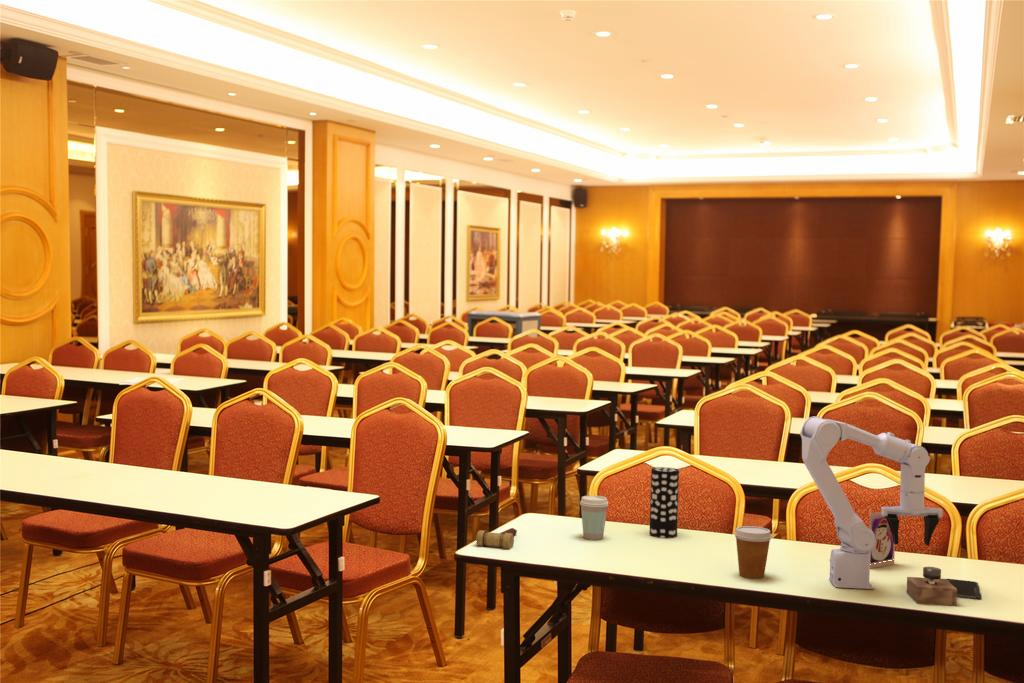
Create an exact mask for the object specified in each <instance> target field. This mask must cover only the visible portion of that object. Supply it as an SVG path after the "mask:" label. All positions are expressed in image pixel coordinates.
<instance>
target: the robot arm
mask: <svg viewBox="0 0 1024 683" xmlns="http://www.w3.org/2000/svg"><path fill="white" fill-rule="evenodd" d="M799 435H800V437H801V459H802V461H803V463H804V465H805V467H806V469H807V471H808V472H809V475H810V476H811V479H812V480H813V481H814V483H815V485H816V487H817V489H818V491H819V492H820V494H821V496H822V498H823V499H824V501H825V503H826V505H827V507H828V509H829V511H830V512H831V514H832V515H833V518H834V521H833V524H834V526H835V528H836V536H837V538H838V540H839V541H840V547H839V548H832V549H831V551H830V558H829V560H830V561H829V577H828V580H829V581H830V583H831V584H832V585H833V586H834V587H835V588H843V589H845V588H846V589H861V590H863V589H864V590H866V589H867V590H874V589H875V587H874V586H873V585H872V583H871V582H870V572H871V570H870V569H871V568H870V551H871V549H872V548H873V547H874V545H875V542H876V537H875V534H874V532H873V531H872V530H871V529H869V526H867V525H866V524H865V522H864V521H863V519H862V518H860V516H859V515H858V514H857V513H856V512H855V510H854V507H853V506H852V505H851V502H850V501H849V499H848V497H847V495H846V493H845V492H844V490H843V488H842V486H841V485H840V482H839V481H838V479H837V476H836V475H835V474H834V471H833V470H832V469H831V467H830V464H829V463H828V461H827V458H828V456H829V453H830V452H831V451H832V450H833V448H834V447H835V446H836V444H837V443H838V442H839V441H840V442H843V441H845V440H852V441H855V442H858V443H860V444H863V445H865V446H869V447H872V449H873V451H874V454H876V455H878V456H881V457H883V458H885V459H889V460H892V461H895V462H898V463H900V479H899V480H900V481H899V482H900V485H899V486H900V488H899V490H900V491H899V505H897V506H881V511H880V512H881V514H882V515H883V516H885V518H886V520H887V522H888V524H889V527H890V530H891V533H892V537H893V543H894V544H895V546H896V545H899V527H900V526H899V525H900V519H899V516H903V517H904V516H905V517H923V525H924V534H923V542H924V545H926V546H930V544H931V540H932V538H933V537H932V536H933V534H934V531H935V529H936V527H937V526H938V524H939V522H940V518H943V517H944V516H943V515H944V514H943V513H944V512H943V511H944V510H943V509H942V507H941V508H940V507H927V506H925V483H926V482H925V480H926V478H925V477H926V476H925V474H926V467H927V466H928V465H929V463H930V460H931V456H929V453H928V451H927V449H926V447H923V446H922V445H918V444H914V443H911V442H912V441H911V440H910V439H905V440H904V439H902V438H899V437H897V436H895V433H892V432H889V431H887V432H881V433H879V434H874V433H871V432H869V431H867V430H863V429H861V428H859V427H857V426H854V425H851V424H849V423H847V422H844V421H843V422H842V421H838V420H835V419H829V418H821V417H820V416H815V415H813V416H810V417H808V418H806V420H805V421H804V422H803V425H802V427H801V430H800V432H799Z"/></svg>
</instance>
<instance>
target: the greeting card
mask: <svg viewBox="0 0 1024 683" xmlns="http://www.w3.org/2000/svg"><path fill="white" fill-rule="evenodd" d="M869 510H870V511H869V522H868V523H869V524H868V525H869V526H868V528H869V529H871V530H872V531H873V532H874V534H875V537H876V542H875V545H874V547H873V548H872V549H871V551H870V564H871V565H870V569H873V568H874V569H875V568H879V567H884V566H889V565H890V566H891V565H894V564H895V552H896V551H895V550H896V549H895V548H896V544H894V543H893V537H892V533H891V530H890V527H889V524H888V522H887V520H886V518H885V516H883V515H882V514H881V512H882V511H878V512H873V513H872V509H869ZM893 559H894V560H893ZM888 560H892V561H888ZM883 561H886V562H883ZM879 562H881V563H879ZM874 563H876V564H874Z"/></svg>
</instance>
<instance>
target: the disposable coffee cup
mask: <svg viewBox="0 0 1024 683" xmlns="http://www.w3.org/2000/svg"><path fill="white" fill-rule="evenodd" d="M733 533H734V534H733V535H734V536H735V540H736V541H735V542H736V551H737V562H738V574H739V576H740V577H743V578H747V579H762V578H764V576H765V572H766V567H767V565H766V564H767V562H768V561H767V560H768V555H769V550H770V548H769V547H770V542H771V540H772V537H773V536H772V534H771V530H770V529H768V528H766V527H762V526H753V525H752V526H751V525H745V526H744V525H743V526H738V527H736V528H735V532H733Z"/></svg>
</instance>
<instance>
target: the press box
mask: <svg viewBox="0 0 1024 683" xmlns="http://www.w3.org/2000/svg"><path fill="white" fill-rule="evenodd" d="M946 579H947V578H941V579H935V584H928V583H929V578H925V577H917V576H907V577H906V594H907V595H908V596H909V597H910V598H911V599H912V600H913V601H914V602H915V603H916V604H919V605H921V604H922V605H939V606H957V603H958V602H957V601H958V600H957V599H958V597H957V588H955V587H954V586H953V585H952V584H951V583H949V582H948V581H947V580H946Z"/></svg>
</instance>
